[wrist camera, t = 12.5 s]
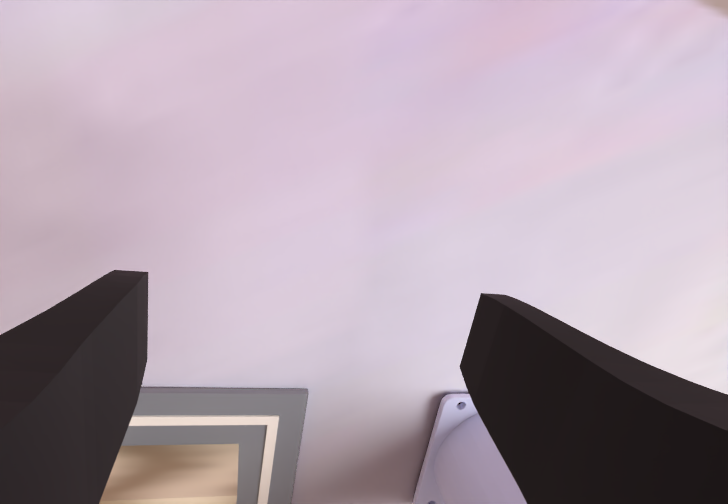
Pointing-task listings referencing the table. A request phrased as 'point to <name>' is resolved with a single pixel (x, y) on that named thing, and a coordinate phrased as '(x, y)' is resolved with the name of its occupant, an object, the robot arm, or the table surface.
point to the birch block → (174, 475)
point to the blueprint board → (230, 431)
